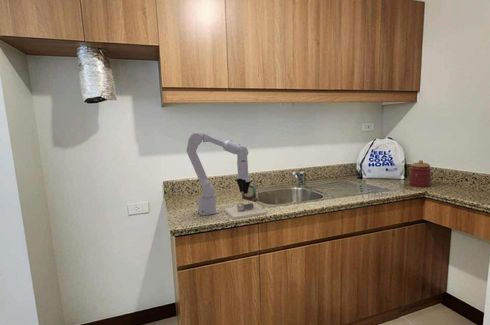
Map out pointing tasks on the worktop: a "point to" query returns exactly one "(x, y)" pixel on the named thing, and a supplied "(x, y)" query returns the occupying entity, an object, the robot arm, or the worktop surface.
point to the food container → (250, 193)
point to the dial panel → (244, 212)
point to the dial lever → (244, 206)
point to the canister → (420, 174)
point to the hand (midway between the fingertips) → (243, 192)
